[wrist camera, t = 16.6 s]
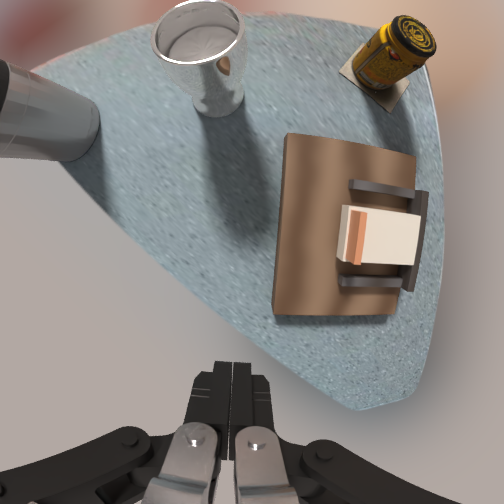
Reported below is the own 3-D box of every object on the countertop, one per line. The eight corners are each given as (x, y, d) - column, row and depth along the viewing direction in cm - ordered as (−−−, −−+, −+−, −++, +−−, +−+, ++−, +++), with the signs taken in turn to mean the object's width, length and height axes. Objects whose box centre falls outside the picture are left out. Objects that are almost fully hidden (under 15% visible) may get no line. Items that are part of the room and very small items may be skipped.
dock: (271, 303, 33) (275, 326, 28) (284, 137, 29) (292, 126, 23) (384, 305, 34) (404, 324, 28) (403, 158, 29) (430, 154, 24)
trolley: (333, 253, 29) (350, 268, 24) (338, 203, 28) (358, 207, 22) (399, 258, 29) (425, 271, 24) (406, 213, 28) (433, 218, 23)
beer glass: (255, 77, 27) (260, 4, 13) (236, 128, 29) (228, 76, 14) (200, 65, 27) (171, -6, 12) (180, 114, 28) (131, 63, 13)
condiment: (362, 43, 26) (401, 0, 14) (409, 82, 27) (460, 54, 15) (338, 72, 27) (376, 27, 15) (389, 114, 28) (444, 89, 17)
